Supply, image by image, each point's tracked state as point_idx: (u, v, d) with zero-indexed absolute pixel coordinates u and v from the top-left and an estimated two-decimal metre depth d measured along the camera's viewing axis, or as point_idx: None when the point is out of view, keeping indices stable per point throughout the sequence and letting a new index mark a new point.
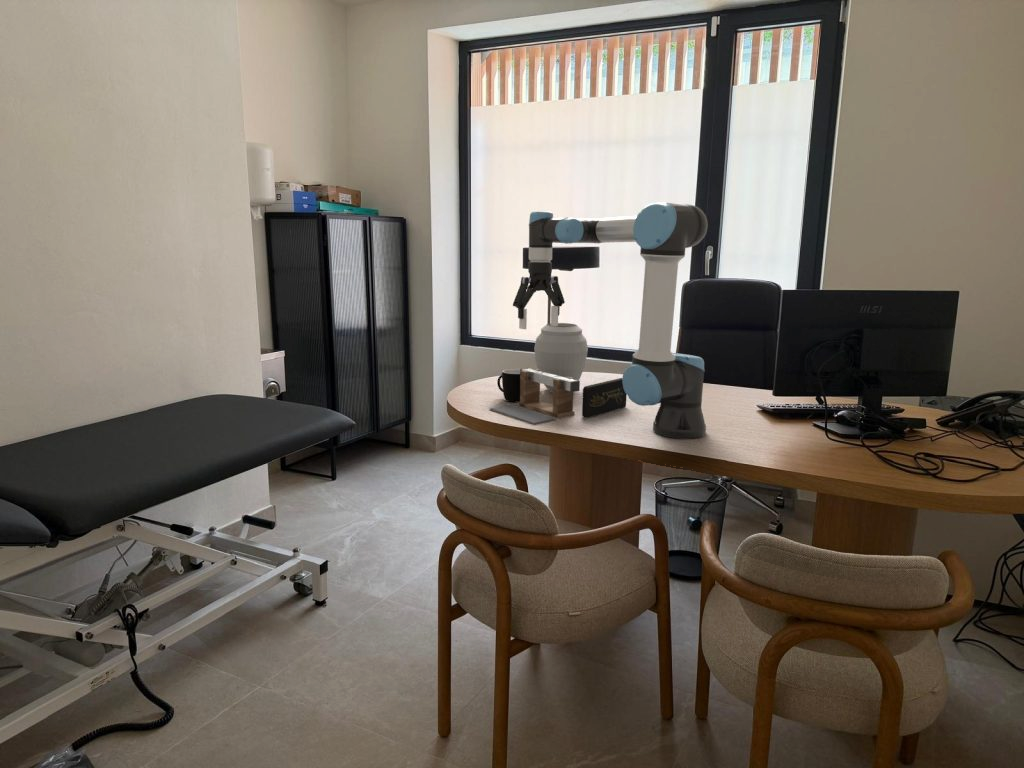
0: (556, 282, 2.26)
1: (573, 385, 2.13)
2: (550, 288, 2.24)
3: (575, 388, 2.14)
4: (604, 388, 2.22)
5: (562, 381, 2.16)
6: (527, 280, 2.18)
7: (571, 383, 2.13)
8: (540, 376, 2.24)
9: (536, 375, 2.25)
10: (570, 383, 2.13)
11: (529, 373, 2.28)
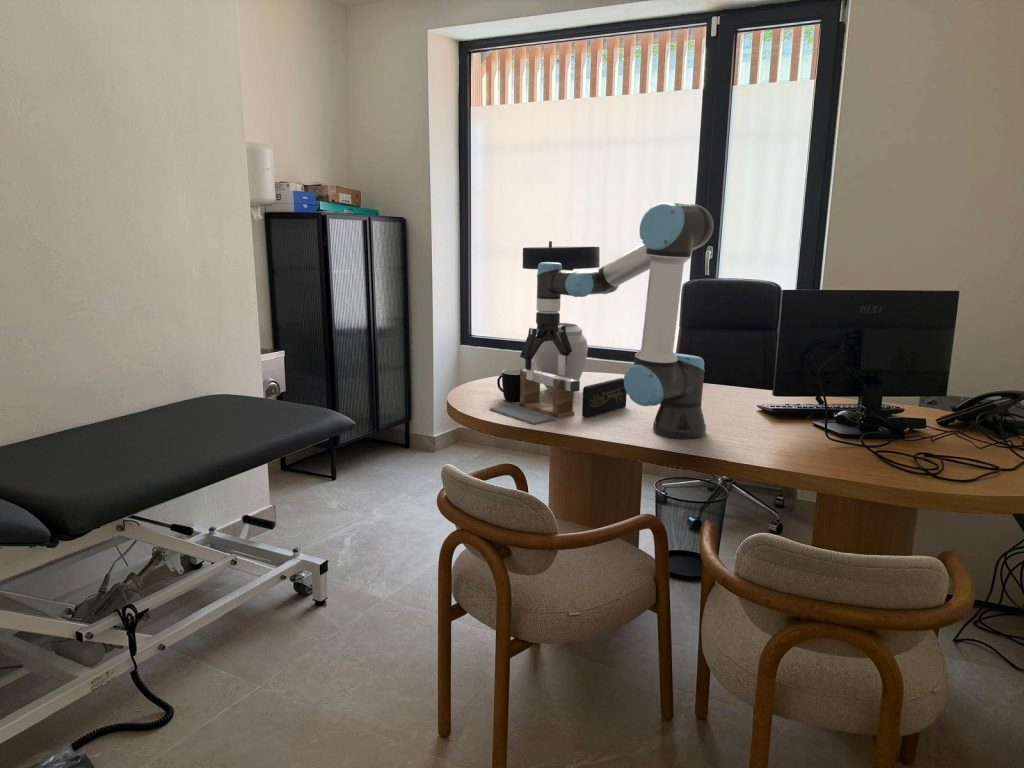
0: (563, 332, 2.24)
1: (573, 385, 2.13)
2: (558, 338, 2.22)
3: (575, 388, 2.14)
4: (604, 388, 2.22)
5: (562, 381, 2.16)
6: (535, 331, 2.16)
7: (571, 383, 2.13)
8: (540, 376, 2.24)
9: (536, 375, 2.25)
10: (570, 383, 2.13)
11: None
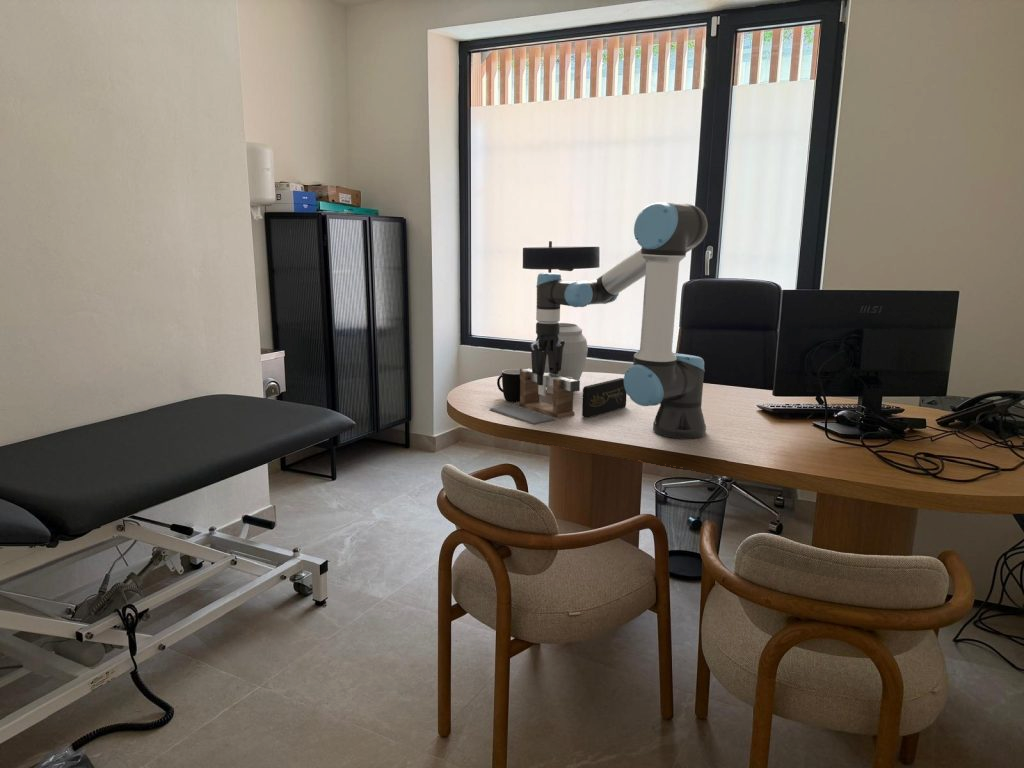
0: (561, 346, 2.24)
1: (573, 385, 2.13)
2: (554, 351, 2.22)
3: (575, 388, 2.14)
4: (604, 388, 2.22)
5: (562, 381, 2.16)
6: (536, 347, 2.17)
7: (571, 383, 2.13)
8: None
9: (536, 375, 2.25)
10: (570, 383, 2.13)
11: (529, 373, 2.28)
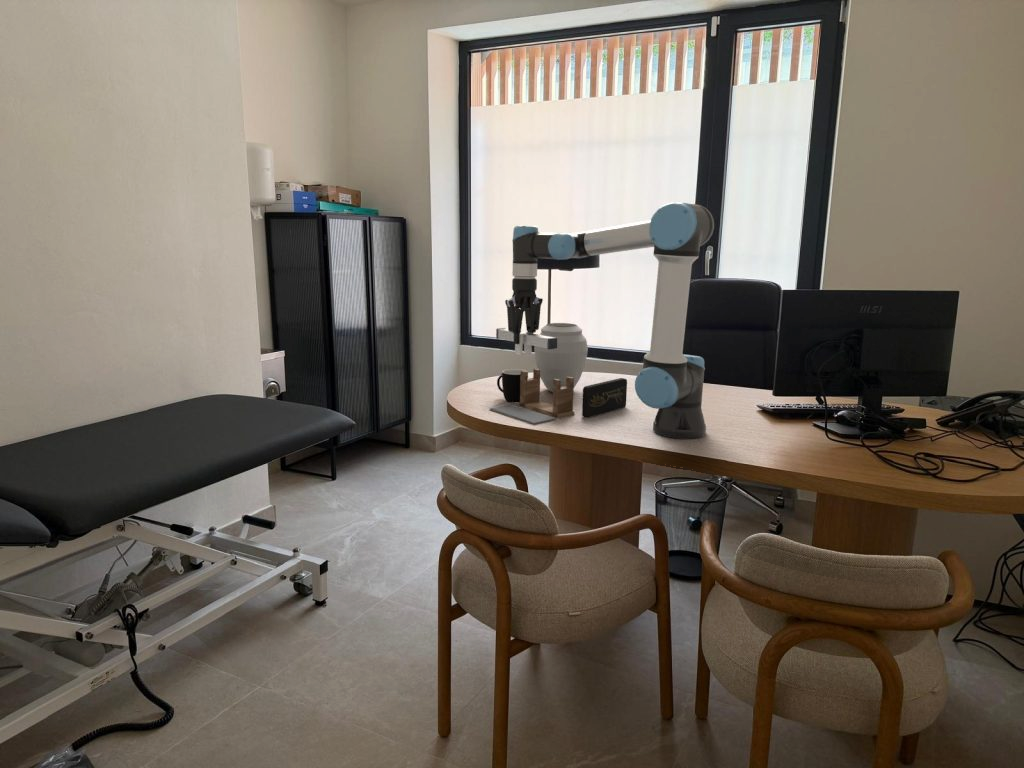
0: (538, 304, 2.15)
1: (550, 342, 2.04)
2: (531, 308, 2.13)
3: (552, 345, 2.05)
4: (604, 388, 2.22)
5: (539, 338, 2.07)
6: (512, 303, 2.08)
7: (548, 340, 2.04)
8: None
9: (513, 334, 2.16)
10: (547, 340, 2.04)
11: (505, 332, 2.19)
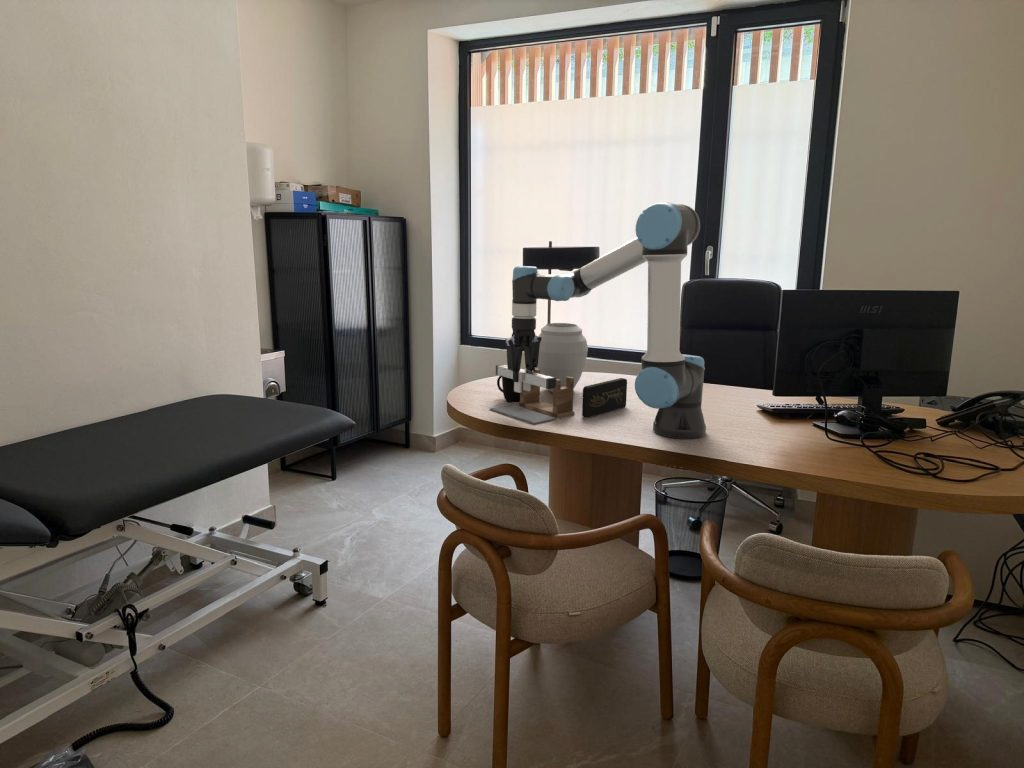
0: (537, 342, 2.17)
1: (549, 382, 2.06)
2: (531, 347, 2.15)
3: (551, 385, 2.07)
4: (604, 388, 2.22)
5: (538, 378, 2.09)
6: (511, 343, 2.11)
7: (547, 380, 2.06)
8: None
9: (512, 372, 2.19)
10: (546, 380, 2.07)
11: (505, 369, 2.22)
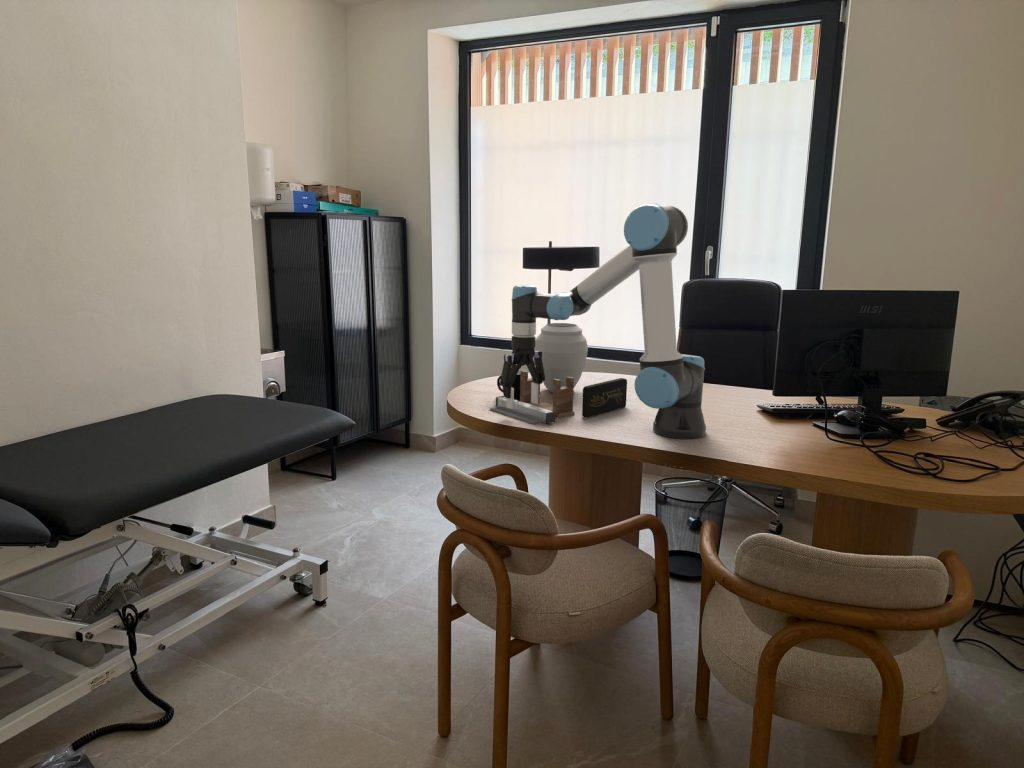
0: (539, 358, 2.19)
1: (549, 416, 2.09)
2: (533, 363, 2.17)
3: (551, 419, 2.09)
4: (604, 388, 2.22)
5: (538, 412, 2.12)
6: (510, 358, 2.11)
7: (546, 414, 2.08)
8: (516, 406, 2.20)
9: None
10: (545, 414, 2.09)
11: (505, 402, 2.24)
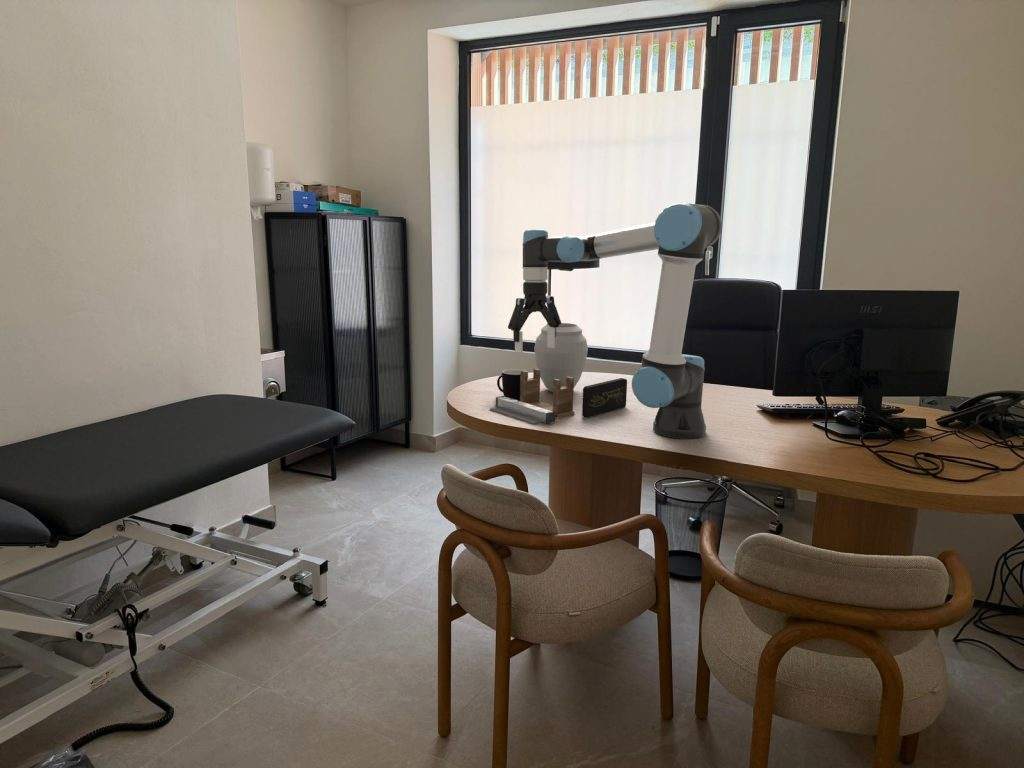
0: (552, 303, 2.16)
1: (549, 416, 2.09)
2: (546, 309, 2.14)
3: (551, 419, 2.09)
4: (604, 388, 2.22)
5: (538, 412, 2.12)
6: (522, 301, 2.08)
7: (546, 414, 2.08)
8: (516, 406, 2.20)
9: (512, 404, 2.21)
10: (545, 414, 2.09)
11: (505, 402, 2.24)
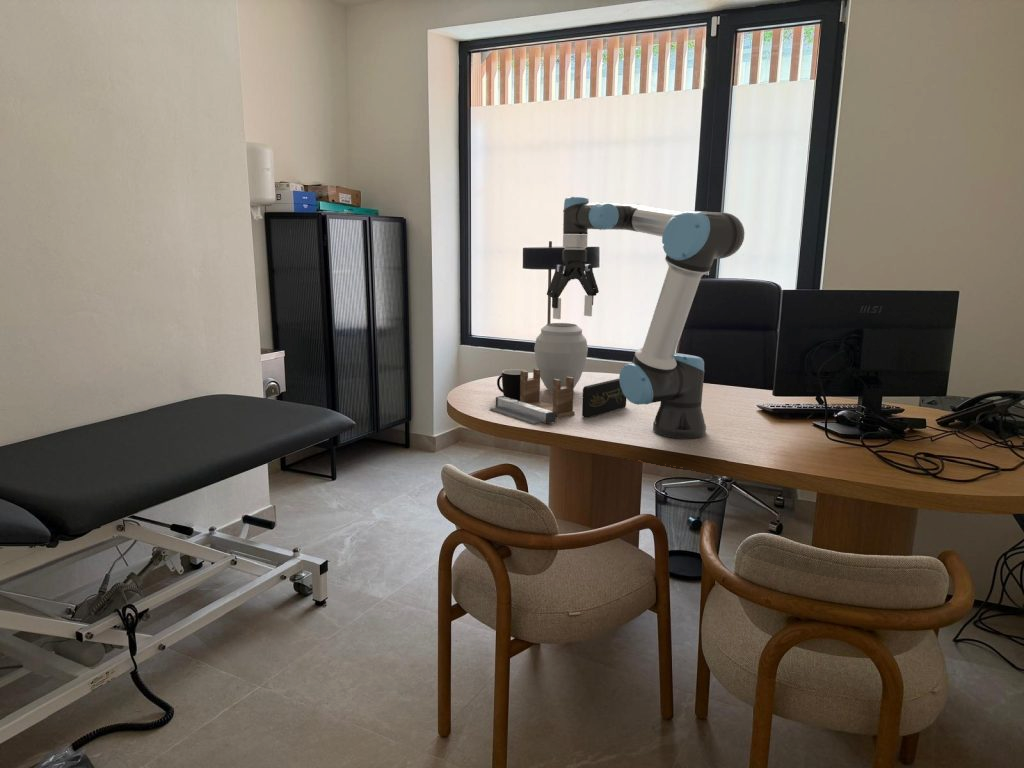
0: (590, 271, 2.18)
1: (549, 416, 2.09)
2: (584, 277, 2.16)
3: (551, 419, 2.09)
4: (604, 388, 2.22)
5: (538, 412, 2.12)
6: (562, 268, 2.10)
7: (546, 414, 2.08)
8: (516, 406, 2.20)
9: (512, 404, 2.21)
10: (545, 414, 2.09)
11: (505, 402, 2.24)
